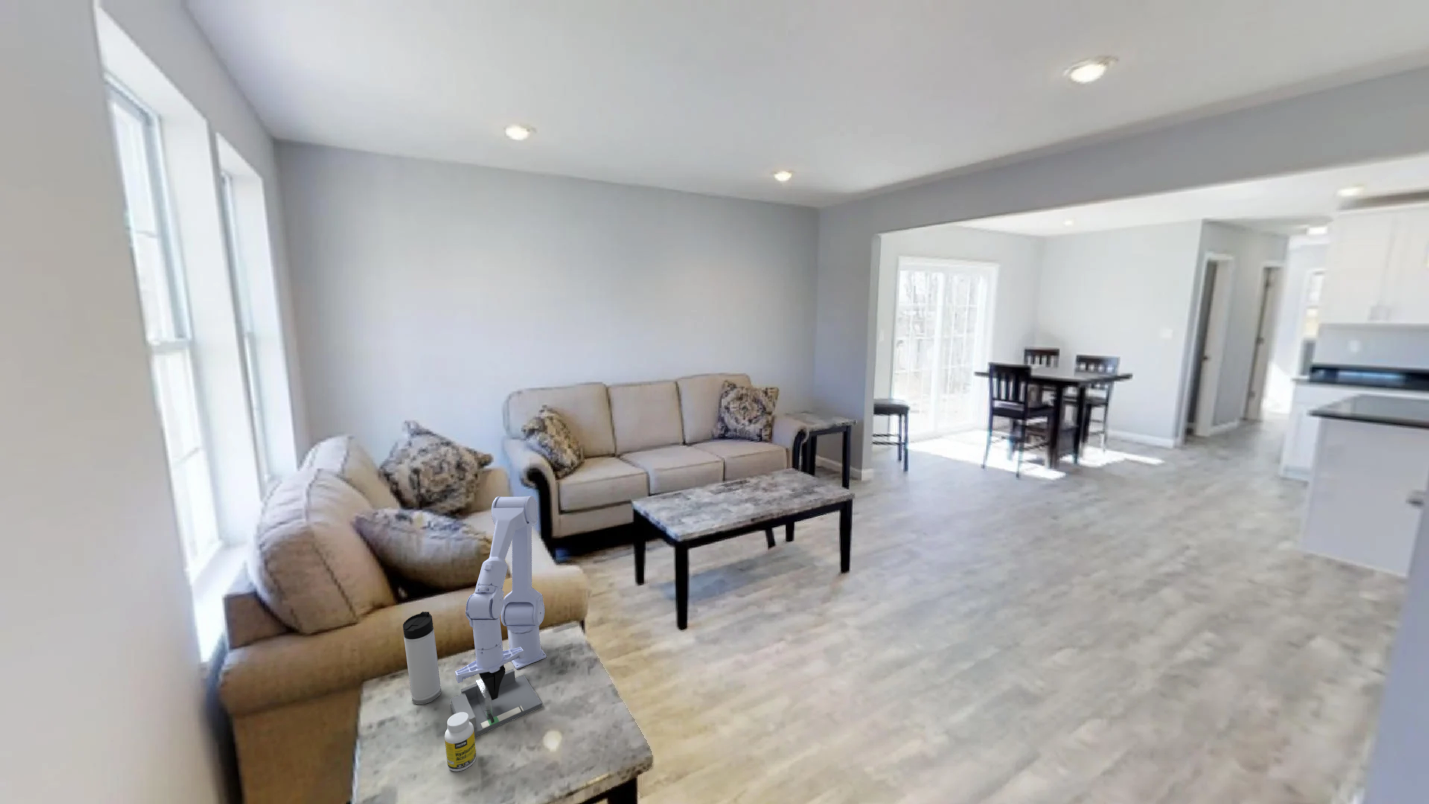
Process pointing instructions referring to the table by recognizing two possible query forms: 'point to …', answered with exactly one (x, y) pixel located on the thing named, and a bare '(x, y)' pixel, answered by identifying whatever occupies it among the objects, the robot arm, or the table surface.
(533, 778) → the table surface
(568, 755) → the table surface
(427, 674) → the travel mug
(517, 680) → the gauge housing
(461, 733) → the supplement bottle
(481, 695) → the paddle
